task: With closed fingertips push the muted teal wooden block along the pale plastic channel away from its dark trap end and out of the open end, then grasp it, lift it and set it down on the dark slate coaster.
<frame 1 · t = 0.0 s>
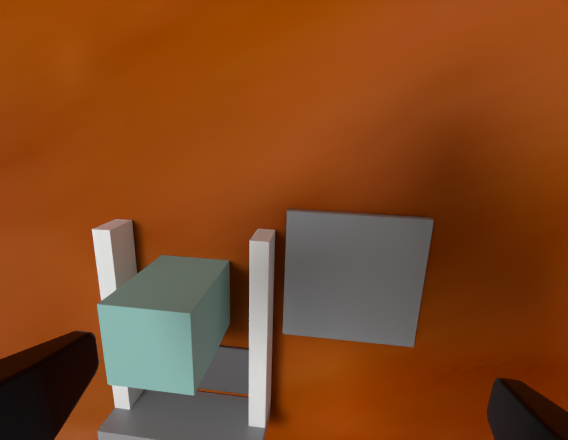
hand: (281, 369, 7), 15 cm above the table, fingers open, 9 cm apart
channel: (197, 314, 25), on the table
coaster: (351, 277, 22), on the table
block: (196, 289, 24), on the table
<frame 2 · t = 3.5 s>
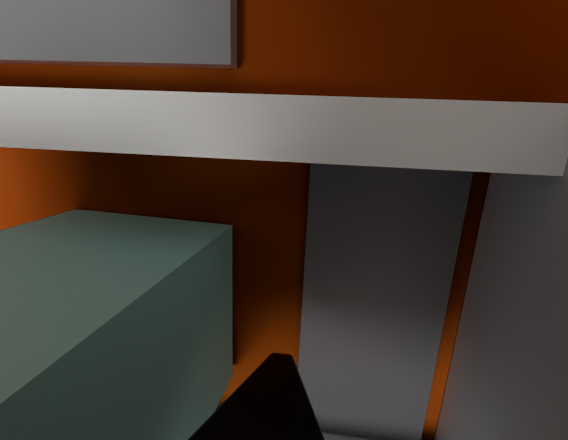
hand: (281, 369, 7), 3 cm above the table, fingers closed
channel: (221, 298, 10), on the table
block: (156, 294, 10), on the table, tilted 5°, touching gripper
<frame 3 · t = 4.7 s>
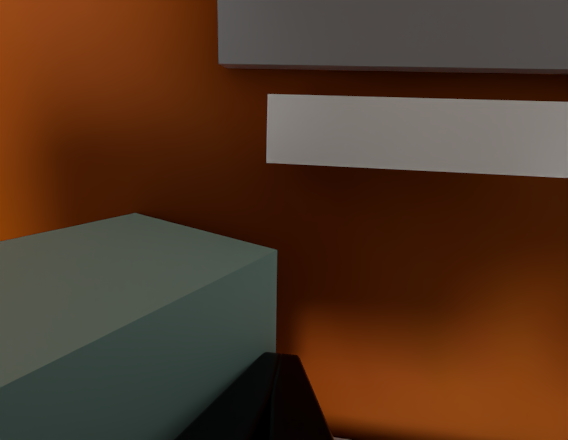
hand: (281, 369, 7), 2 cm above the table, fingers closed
channel: (532, 333, 9), on the table
block: (199, 317, 9), point 1 cm above the table, tilted 27°, touching gripper
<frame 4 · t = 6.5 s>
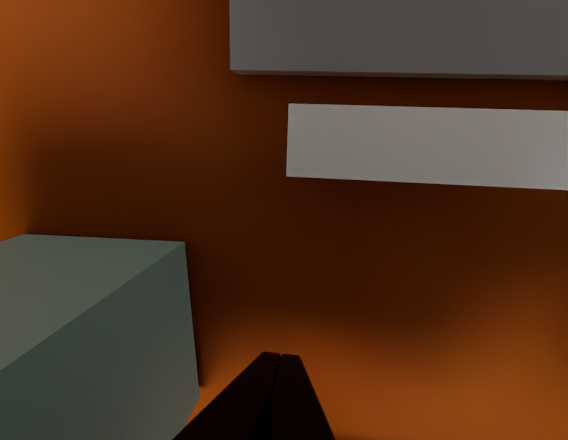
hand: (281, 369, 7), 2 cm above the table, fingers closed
channel: (555, 348, 9), on the table
block: (113, 317, 10), on the table
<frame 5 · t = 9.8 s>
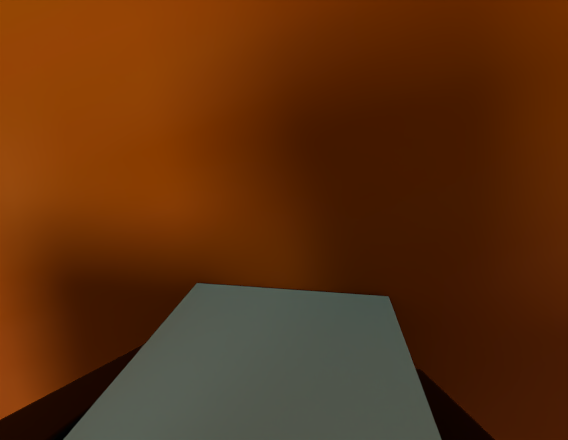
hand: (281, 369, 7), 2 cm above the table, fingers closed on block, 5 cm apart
block: (288, 370, 9), on the table, touching gripper
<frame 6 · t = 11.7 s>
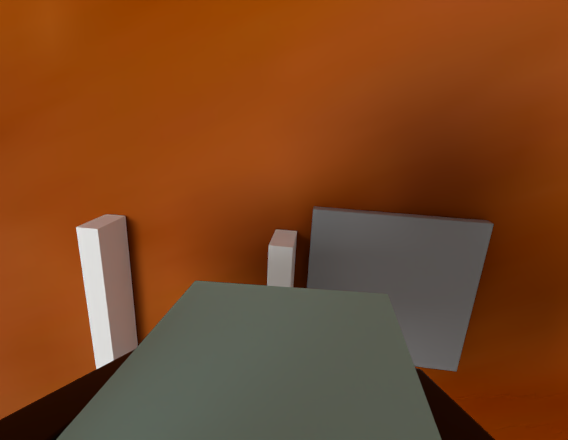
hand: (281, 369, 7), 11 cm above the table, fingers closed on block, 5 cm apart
channel: (201, 326, 21), on the table
coaster: (386, 288, 19), on the table
block: (286, 368, 9), point 10 cm above the table, touching gripper
when the fingers open (3 cm above the table, at t = 14.0 s): block drops 1 cm, resting on coaster.
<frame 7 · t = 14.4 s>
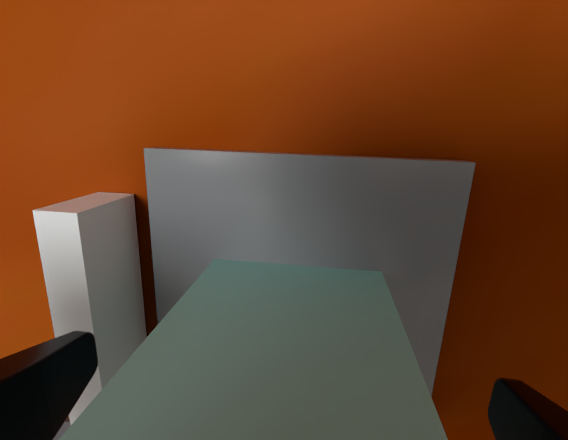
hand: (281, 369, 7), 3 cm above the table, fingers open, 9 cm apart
channel: (13, 360, 13), on the table
coaster: (295, 294, 11), on the table
block: (292, 337, 10), point 1 cm above the table, touching coaster
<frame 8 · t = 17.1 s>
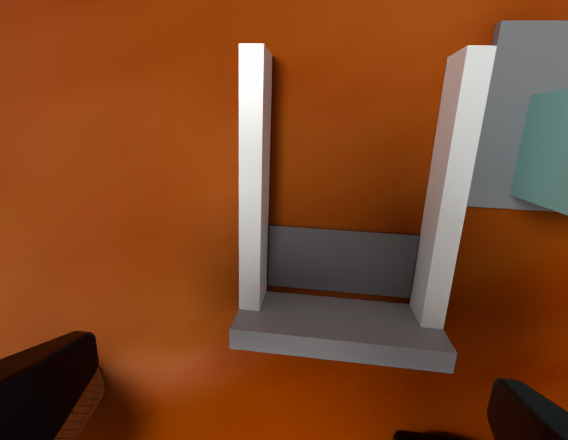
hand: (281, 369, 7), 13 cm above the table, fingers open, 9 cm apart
disposable coffee cup: (69, 375, 26), on the table
channel: (345, 188, 19), on the table
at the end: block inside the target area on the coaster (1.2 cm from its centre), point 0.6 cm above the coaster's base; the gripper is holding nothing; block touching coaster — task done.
